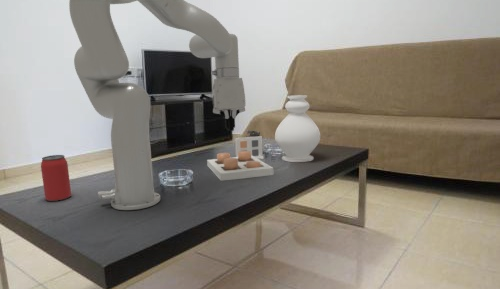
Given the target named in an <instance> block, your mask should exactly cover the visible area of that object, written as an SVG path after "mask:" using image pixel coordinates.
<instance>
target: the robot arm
mask: <svg viewBox="0 0 500 289" xmlns="http://www.w3.org/2000/svg"><path fill="white" fill-rule="evenodd" d="M134 2H139V4H141V5H142V7H144V8H146V9H147V11H148V12H150V13H151V14H152V15H153V16H154V17H155V18H156V19H158V21H160V22H161V23H162V24H163V25H165V26H166V27H170V28H173V29H177V30H182V31H187V32H189V33H192V34H194V35H193V36H192V37H191V38H190V40H189V43H188V47H189V50H190V53H191V54H192V55H193V56H195V57H196V58H198V59H199V58H200V59H209V58H210V59H211V58H214V65H215V66H214V68H215V69H213V70H211V73H210V74H211V76H215V78H214V79H213V87H212V106H213V108H212V113H213V114H216V115H220V116H222V117H223V119H224V128H225V129H226V130H227V131H229V132H231V131H232V132H233V131H234V130H235V128H236V122H235V120H236V117H237V116H238V115H239V114H240V113H243V112H245V111H246V102H247V101H246V94H245V86H244V81H243V78H242V77H240V64H239V63H240V62H239V43H238V42H239V40H238V36H237V35H236V34H233V33H229V31H228V30H227V28H226V27H225V26H224V25H223V24H222V23H221V22H220V21H219V20H218V19H217V18H216V17H215V16H214V15H212V14H210V13H209V12H207V11H206V10H203V8H199V7H198V6H196V5H194V4H192V3H189V2H188V1H186V0H69V2H68V3H69V4H68V5H69V8H68V9H69V14H70V19H71V22H72V25H73V28H74V30H75V33H76V35H77V38H78V39H79V42H80V44H81V46H80V47H79V48H78V49H77V50H76V52H75V55H74V57H73V58H74V60H73V65H74V68H75V72H76V75H77V76H78V79H79V81H80V83H81V85H82V87H83V89H84V91H85V93H86V96H87V97H88V100H89V101H90V103H91V105H92V106H93V108H94V110H95V111H96V112H97V114H99V115H100V116H101V117H104V118H106V119H111V120H112V122H111V128H110V130H111V131H110V143H111V152H112V160H113V162H112V163H113V164H112V165H113V173H114V183H115V185H114V188H111V189H110V190H99V191H97V196H98V199H102V201H107V200H110V205H111V207H112V208H113V209H115V210H118V211H119V210H120V211H137V210H141V209H146V208H150V207H153V206H156V205H157V204H158V203H159V202H160V201H161V194H159V193H158V192H155V188H154V186H155V185H154V177H153V174H154V173H153V163H152V150H151V141H150V117H151V116H150V115H151V105H152V104H151V99H150V95H149V93H148V92H147V91H146V89H144V88H143V87H142V86H141V85H139V84H136V83H133V82H120V81H119V79H121V78H123V77H125V75H127V73H128V71H129V68H130V61H129V58H128V56H127V53H126V51H125V49H124V45H123V43H122V42H121V39H120V36H119V34H118V32H117V30H116V28H115V25H114V21H113V19H112V15H111V14H112V13H111V5H122V4H123V5H125V4H131V3H134ZM229 111H230V115H229Z"/></svg>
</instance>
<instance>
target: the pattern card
mask: <svg viewBox="0 0 500 289" xmlns="http://www.w3.org/2000/svg"><path fill="white" fill-rule="evenodd" d="M234 142H235V144H234V145H235V157H238V152H239V151H251V156H254V157H256V158H257V159H259V160H264V159H265V157H264V156H263V154H262V149H263V138H262V135H260V136H258V137H246V136H245V137H236V138H234Z"/></svg>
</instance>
